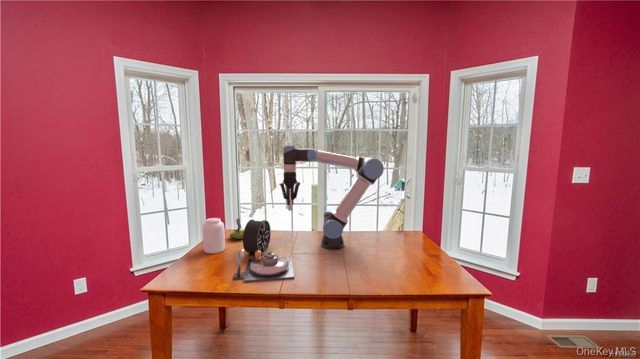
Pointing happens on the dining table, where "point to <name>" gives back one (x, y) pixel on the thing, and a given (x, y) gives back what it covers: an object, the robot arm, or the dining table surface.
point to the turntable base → (285, 275)
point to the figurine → (237, 231)
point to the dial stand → (239, 274)
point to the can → (213, 236)
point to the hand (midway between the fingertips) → (290, 210)
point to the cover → (270, 259)
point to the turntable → (264, 270)
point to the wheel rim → (256, 236)
